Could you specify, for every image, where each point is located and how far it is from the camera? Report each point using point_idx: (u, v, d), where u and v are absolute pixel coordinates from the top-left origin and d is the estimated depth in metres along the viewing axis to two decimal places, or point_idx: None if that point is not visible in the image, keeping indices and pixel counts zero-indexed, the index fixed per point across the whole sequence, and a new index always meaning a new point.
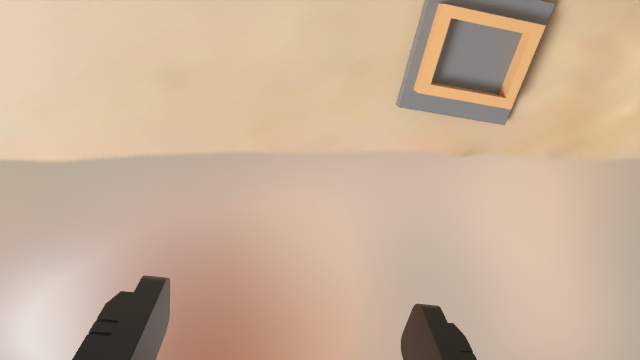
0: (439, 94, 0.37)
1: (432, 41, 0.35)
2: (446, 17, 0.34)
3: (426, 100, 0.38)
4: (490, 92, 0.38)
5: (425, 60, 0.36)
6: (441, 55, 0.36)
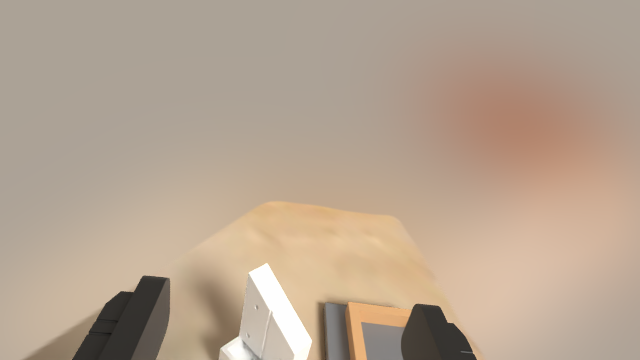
0: None
1: None
2: None
3: None
4: None
5: None
6: None
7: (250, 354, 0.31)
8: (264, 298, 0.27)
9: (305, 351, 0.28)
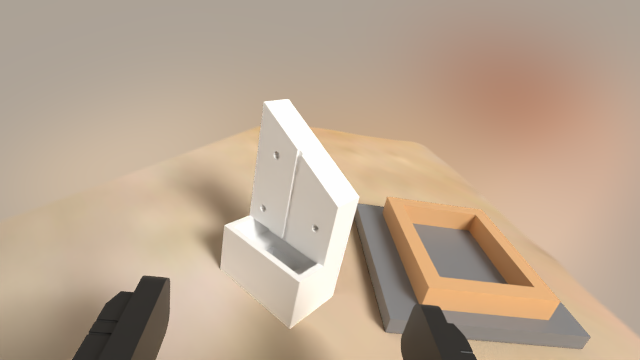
0: (535, 274, 0.23)
1: (482, 295, 0.21)
2: (443, 282, 0.21)
3: None
4: (473, 236, 0.29)
5: (508, 303, 0.21)
6: None
7: (266, 242, 0.22)
8: (288, 134, 0.19)
9: (350, 212, 0.19)
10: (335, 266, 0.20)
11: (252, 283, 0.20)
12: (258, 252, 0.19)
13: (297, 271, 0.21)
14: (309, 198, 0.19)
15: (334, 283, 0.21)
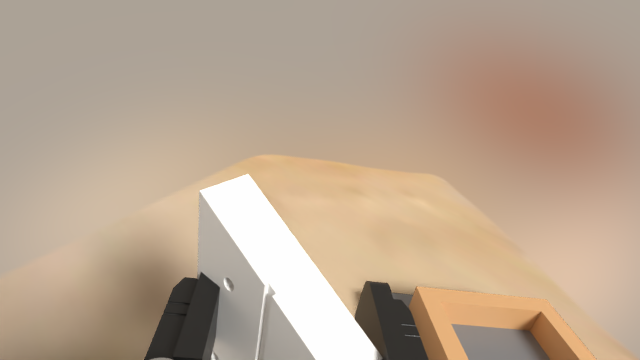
0: None
1: None
2: None
3: None
4: (539, 343, 0.20)
5: None
6: None
7: None
8: (247, 254, 0.10)
9: None
10: None
11: None
12: None
13: None
14: None
15: None
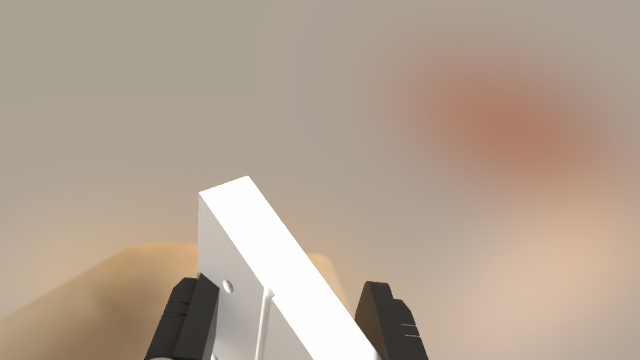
0: None
1: None
2: None
3: None
4: None
5: None
6: None
7: None
8: (246, 256, 0.10)
9: None
10: None
11: None
12: None
13: None
14: None
15: None
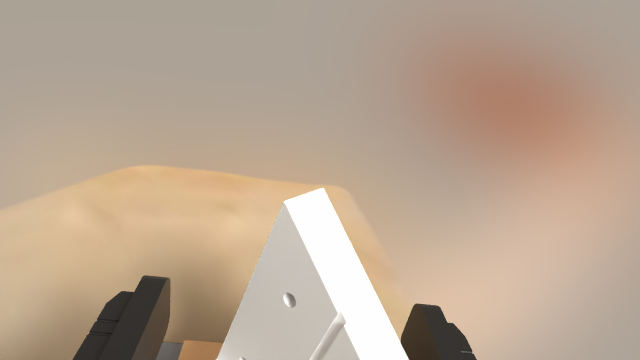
0: None
1: None
2: None
3: None
4: None
5: None
6: None
7: None
8: (323, 277, 0.10)
9: None
10: None
11: None
12: None
13: None
14: None
15: None
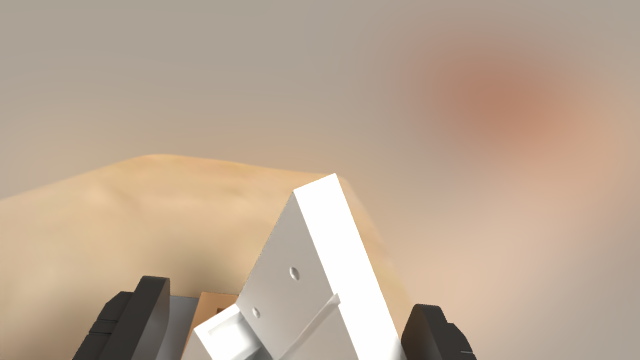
0: None
1: None
2: None
3: None
4: None
5: None
6: None
7: (252, 337, 0.16)
8: (324, 262, 0.11)
9: None
10: None
11: None
12: None
13: None
14: None
15: None
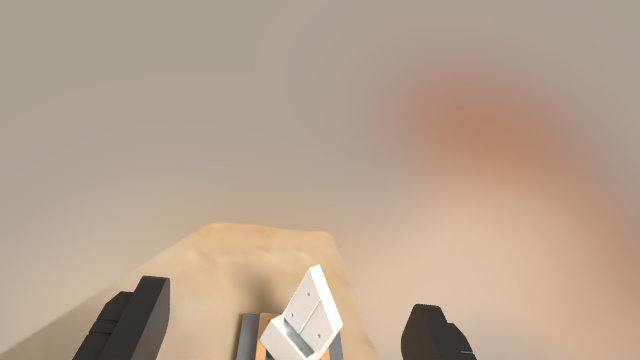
0: None
1: None
2: None
3: None
4: None
5: None
6: None
7: (286, 330, 0.42)
8: (317, 288, 0.38)
9: (337, 331, 0.39)
10: (321, 353, 0.40)
11: (278, 354, 0.39)
12: (287, 341, 0.39)
13: (301, 352, 0.40)
14: (319, 321, 0.38)
15: None
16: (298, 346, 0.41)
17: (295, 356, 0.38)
